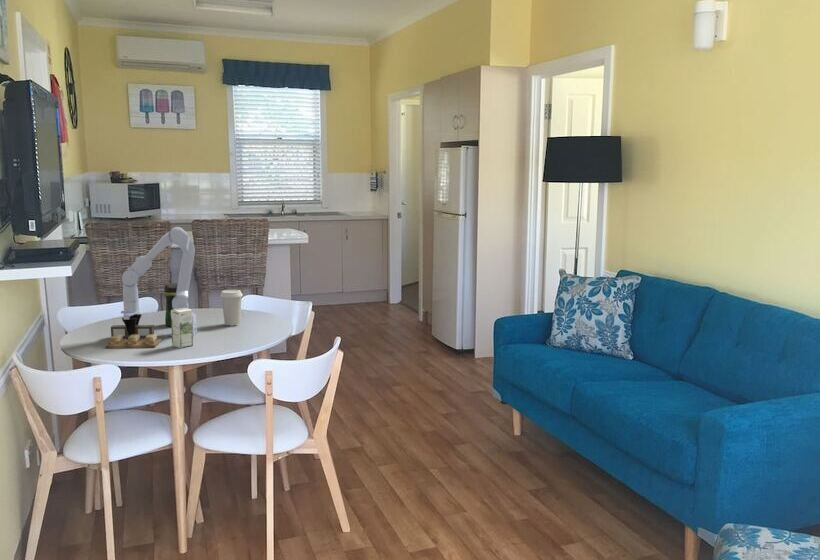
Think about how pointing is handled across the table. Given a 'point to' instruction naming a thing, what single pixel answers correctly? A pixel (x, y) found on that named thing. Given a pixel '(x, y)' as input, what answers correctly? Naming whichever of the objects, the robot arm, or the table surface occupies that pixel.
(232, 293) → the coffee cup
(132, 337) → the display stand
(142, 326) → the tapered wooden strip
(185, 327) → the syrup box
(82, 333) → the table surface
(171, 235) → the robot arm
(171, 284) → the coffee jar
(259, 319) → the table surface
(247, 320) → the table surface
